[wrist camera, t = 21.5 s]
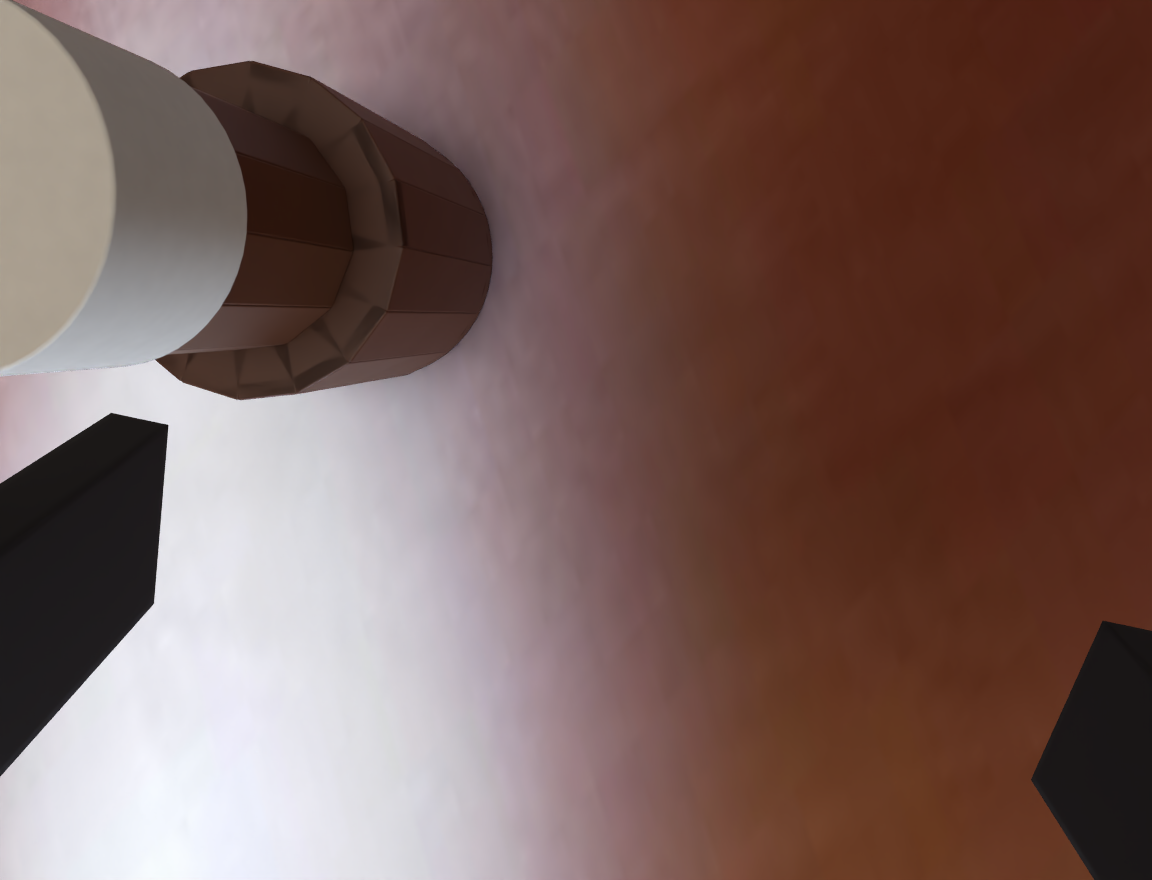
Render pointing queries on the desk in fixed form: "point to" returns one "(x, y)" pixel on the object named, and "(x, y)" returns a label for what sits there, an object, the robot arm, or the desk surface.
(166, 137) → the stopper
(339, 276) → the bottle
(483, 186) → the desk surface
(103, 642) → the robot arm
